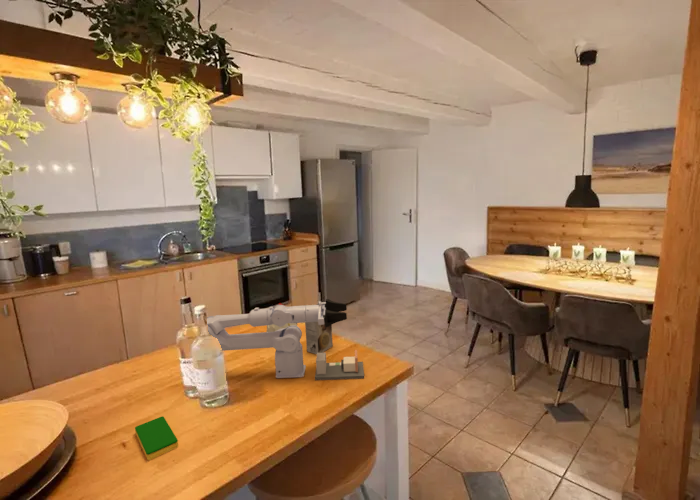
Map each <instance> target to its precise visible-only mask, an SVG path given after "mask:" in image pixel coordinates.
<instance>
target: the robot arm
mask: <svg viewBox="0 0 700 500" xmlns="http://www.w3.org/2000/svg"><path fill="white" fill-rule="evenodd" d="M347 310H348V308H347V304H346V303H342V302H337V301H334V300H331V299H329V298H325V301H323V302H322V301H320V300H318V304H310V305H309V304H308V305H307V304H305V305H292V306H291V305H290V306H287V305H285V304H283V305H279V304H277V305H275V306H274V307H273V306H269V307H267V308H260V307H255V308H254V309H251V310H250V311H249V313H242V314H241V313H239V314H224V315H223V314H222V315H221V314H216V315H209V316H207V317H206V318H207V325H208V332H209V334H210V335H212V336H213V337H215V338H217V339H218V341H219V343H220V345H221V348H222V350H221V351H222V352H223V351H224V352H225V351H238V350H251V349H252V350H253V349H255V350H257V349H270V348H271V349H272V348H274V349H275V352H274V364H275V378H276V379H284V378H285V379H286V378H287V379H289V378H291V379H292V378H303V377H304V376H305V373H306V372H305V371H306V367H307V366H306V364H304V352H303V344H302V343H301V338H302V336H303V335H302V333H303V332H302V329H301V328H300V327H299V326H298V325H297V326H298V327H297V326H295V325H291V326H288V327H287V328H283V329H279V330H277V331H274V332H267V331H266V332H265V331H264V332H263V331H261V332H250V333H249V332H248V333H235V334H234V333H232V334H231V333H228V331H226V328H230V327H236V326H242V325H250V326H251V327H253V328H254V327H264V326H266V327H267V325H272V324H274V325H276V326H279V327H282V326H284V325H285V324H286V323H297V324H299V323H301V324H303V323H305V322H318V325H324V323H325V327H329V326H330V325H333V324H337V323H339V322H342V321H345V320H347V319H348V317H347V316H348V315H347V312H346V311H347Z"/></svg>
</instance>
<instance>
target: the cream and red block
mask: <svg viewBox="0 0 700 500" xmlns="http://www.w3.org/2000/svg"><path fill="white" fill-rule="evenodd" d="M358 362H359V360H358V350H357V349H354V356H343V359H341V369H344V372H354V371H356V372H358Z"/></svg>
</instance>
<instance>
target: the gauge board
mask: <svg viewBox="0 0 700 500" xmlns="http://www.w3.org/2000/svg"><path fill="white" fill-rule="evenodd" d="M315 365H316V366H315V373H314V374H315V375H314V381H330V380H331V381H332V380H334V381H335V380H336V381H337V380H359V379H361V380H362V379H365V372H364V371H365V370H364V362H363V361H358V372H356V371H354V372H344V369H341V362H339V361H337V362H327V353H326V351H324V352H323V353H317V354H316V357H315Z"/></svg>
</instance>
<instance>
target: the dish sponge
mask: <svg viewBox="0 0 700 500" xmlns="http://www.w3.org/2000/svg"><path fill="white" fill-rule="evenodd" d="M134 430H135V432H134V433H135V435H136V439H137V440H138V442H139V444H140V446H141V448H142V451H143V453H144V455H145V458H146V460H147V461H151V460H153V459H155V458H157V457H159V456H161V455H165V454H166V453H168V452H170V451H173V450H176V449H177V448H178V447H179V440H178V438H177V436H176V434H175V433H174V431H173V430H172V428H171V427H170V424H169V423H168V422H167V420H166V418H165V417H164V416H162V415H161V416H159V417H157V418H154V419H151V420H150V421H146V422H145V423H141V424H139V425H136V426H135V427H134Z"/></svg>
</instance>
